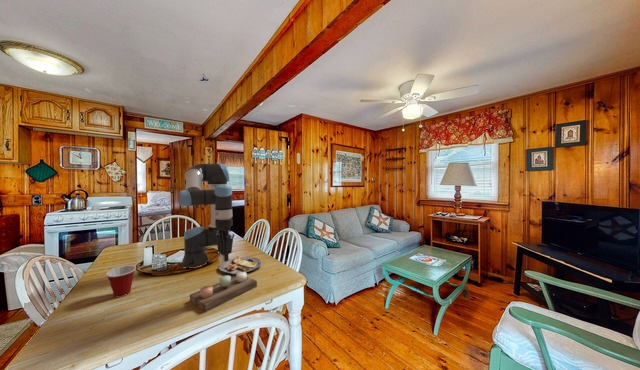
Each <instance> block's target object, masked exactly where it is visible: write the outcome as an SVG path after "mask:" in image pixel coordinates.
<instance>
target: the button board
mask: <svg viewBox="0 0 640 370" xmlns="http://www.w3.org/2000/svg"><path fill="white" fill-rule="evenodd" d="M211 286H212V287H213V295H212V296H210V297H208V298H201V297H200V290H198V291H196V292H193V293H191V294H189V301H190V302H191V304H194V305H195V306H196V307H198V308H199V309H200V310H202V311H204V312H205V313H207V312H209V311H211V310H213V309H215V308H217V307H219V306H221V305H224V304H225V303H227V302H229V301H231V300H233V299H235V298H237V297H238V296H239V297H240V296H241V295H243V294H245V293H247V292H249V291H251V290H253V289H255V288H257V287H258V280H257V279H256V280H255V279H253V278H251V277H249V276H247V280H246V281H244V282H237V281H236V275H234V276H232V277H231V284H230V285H228V286H220V282H217V283H215V284H212V285H211Z"/></svg>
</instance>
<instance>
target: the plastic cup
mask: <svg viewBox="0 0 640 370" xmlns="http://www.w3.org/2000/svg"><path fill="white" fill-rule="evenodd" d="M136 270H137V267H136V266H135V265H133V264H131V265H130V264H129V265H121V266H119V267H118V266H117V267H115V268H112V269H110V270H108V271H107V272H106V273H105V277H107V279H108V281H109V284H110V287H111V290H112V292H113V296H122V295H125V294H127V295H129V294H130V293H131V291H132V285H133V279H134V274H135V271H136ZM129 292H130V293H129ZM128 293H129V294H128ZM125 296H126V295H125ZM122 297H123V296H122Z"/></svg>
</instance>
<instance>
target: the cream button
mask: <svg viewBox="0 0 640 370" xmlns="http://www.w3.org/2000/svg"><path fill="white" fill-rule="evenodd" d="M239 272H240V273H239ZM239 272H237V274H235V276H236V281H237V282H244V281H246V280H247V277H248V273H247V272H243V271H239Z"/></svg>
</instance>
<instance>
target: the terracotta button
mask: <svg viewBox="0 0 640 370" xmlns="http://www.w3.org/2000/svg"><path fill="white" fill-rule="evenodd" d="M199 291H200V297H201V298H208V297H210V296H212V295H213V287H212V285H206V286H203V287H201V288H200V289H199Z"/></svg>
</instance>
